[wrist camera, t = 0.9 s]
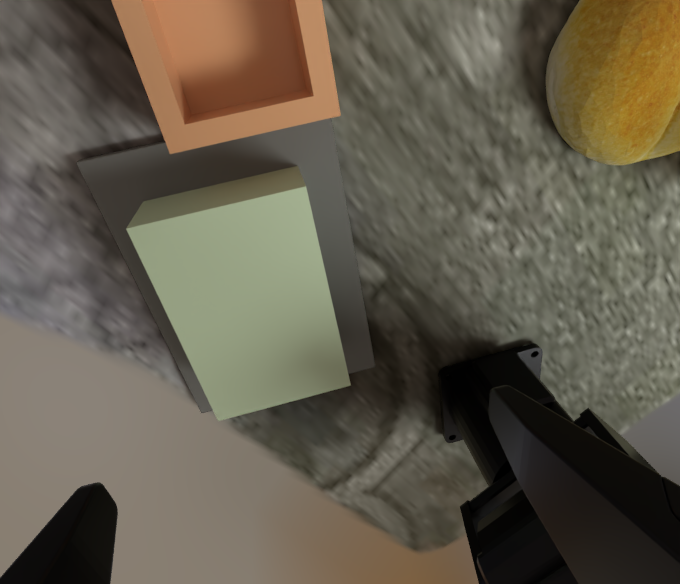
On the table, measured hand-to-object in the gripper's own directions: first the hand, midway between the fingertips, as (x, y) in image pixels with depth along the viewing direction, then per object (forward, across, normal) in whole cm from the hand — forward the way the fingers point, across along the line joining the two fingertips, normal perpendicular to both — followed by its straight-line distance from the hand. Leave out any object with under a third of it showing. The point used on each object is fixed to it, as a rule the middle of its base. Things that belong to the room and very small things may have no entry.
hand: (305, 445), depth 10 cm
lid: (+12, +2, +2) cm, 12 cm away
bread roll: (+13, -17, -5) cm, 22 cm away
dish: (+12, 0, -9) cm, 15 cm away
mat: (+12, +2, +2) cm, 12 cm away
